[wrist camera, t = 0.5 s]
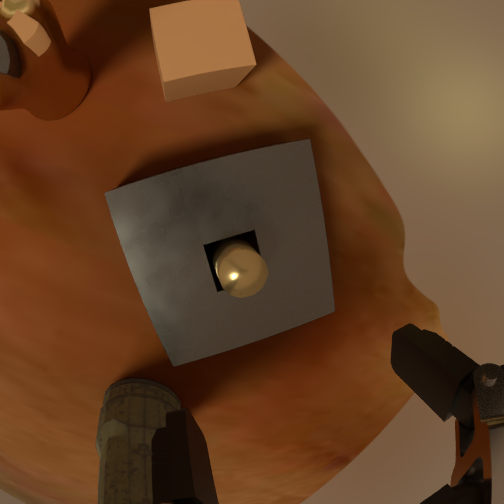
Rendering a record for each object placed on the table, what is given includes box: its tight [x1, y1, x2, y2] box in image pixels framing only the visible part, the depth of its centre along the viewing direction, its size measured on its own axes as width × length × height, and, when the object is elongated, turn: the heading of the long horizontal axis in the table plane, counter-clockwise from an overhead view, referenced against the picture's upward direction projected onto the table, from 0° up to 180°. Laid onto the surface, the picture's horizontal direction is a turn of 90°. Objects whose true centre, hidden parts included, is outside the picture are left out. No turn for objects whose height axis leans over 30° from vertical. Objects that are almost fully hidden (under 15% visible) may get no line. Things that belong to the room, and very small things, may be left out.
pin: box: [212, 237, 268, 298], centre depth 19 cm, size 3×3×4 cm
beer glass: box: [0, 0, 91, 121], centre depth 9 cm, size 7×7×15 cm
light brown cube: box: [149, 0, 256, 102], centre depth 16 cm, size 6×6×6 cm
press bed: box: [105, 139, 335, 367], centre depth 22 cm, size 14×14×4 cm
